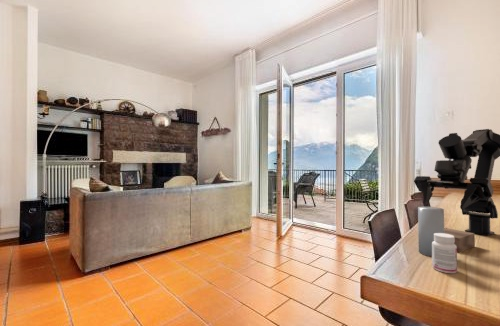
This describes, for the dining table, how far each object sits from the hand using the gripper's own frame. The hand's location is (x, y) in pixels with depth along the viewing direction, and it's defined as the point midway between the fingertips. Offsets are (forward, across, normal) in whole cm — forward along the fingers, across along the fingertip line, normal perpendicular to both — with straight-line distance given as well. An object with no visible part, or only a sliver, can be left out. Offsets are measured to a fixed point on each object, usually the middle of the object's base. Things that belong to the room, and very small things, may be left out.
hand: (442, 206), depth 73 cm
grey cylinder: (+14, 0, +4) cm, 15 cm away
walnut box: (+5, -1, +13) cm, 14 cm away
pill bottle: (+21, +6, -2) cm, 22 cm away
